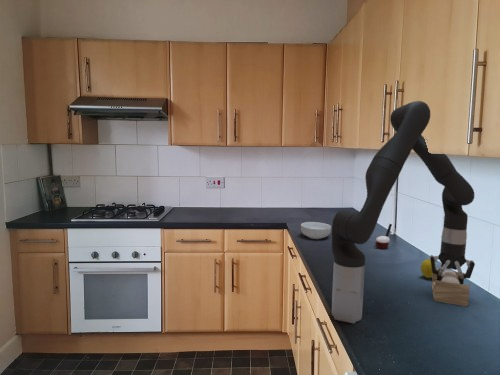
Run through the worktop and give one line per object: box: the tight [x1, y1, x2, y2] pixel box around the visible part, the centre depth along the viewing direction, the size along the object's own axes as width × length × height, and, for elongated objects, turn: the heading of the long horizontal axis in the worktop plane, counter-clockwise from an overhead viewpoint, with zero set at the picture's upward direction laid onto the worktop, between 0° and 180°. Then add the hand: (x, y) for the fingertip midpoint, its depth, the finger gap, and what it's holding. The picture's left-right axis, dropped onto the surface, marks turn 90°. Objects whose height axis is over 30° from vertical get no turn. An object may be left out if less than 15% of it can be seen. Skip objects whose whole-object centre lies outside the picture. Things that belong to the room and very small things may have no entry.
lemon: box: [420, 258, 437, 279], centre depth 143 cm, size 6×6×8 cm
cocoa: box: [374, 223, 393, 250], centre depth 182 cm, size 10×6×12 cm, turn 92°
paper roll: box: [441, 269, 460, 284], centre depth 126 cm, size 9×6×6 cm
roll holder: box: [431, 268, 471, 307], centre depth 127 cm, size 13×10×7 cm
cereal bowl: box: [300, 221, 332, 240], centre depth 200 cm, size 17×17×7 cm
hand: (449, 286), depth 127 cm, fingers closed on paper roll, 5 cm apart
